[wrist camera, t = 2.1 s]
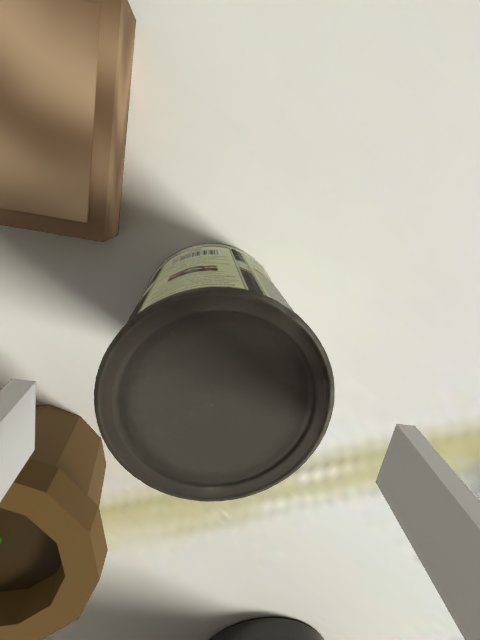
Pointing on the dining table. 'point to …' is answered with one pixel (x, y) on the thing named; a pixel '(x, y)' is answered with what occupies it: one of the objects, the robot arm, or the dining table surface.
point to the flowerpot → (52, 529)
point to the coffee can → (213, 381)
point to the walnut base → (64, 114)
